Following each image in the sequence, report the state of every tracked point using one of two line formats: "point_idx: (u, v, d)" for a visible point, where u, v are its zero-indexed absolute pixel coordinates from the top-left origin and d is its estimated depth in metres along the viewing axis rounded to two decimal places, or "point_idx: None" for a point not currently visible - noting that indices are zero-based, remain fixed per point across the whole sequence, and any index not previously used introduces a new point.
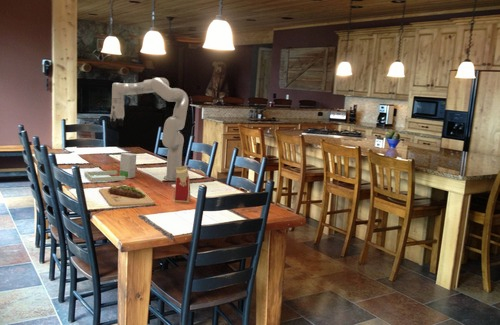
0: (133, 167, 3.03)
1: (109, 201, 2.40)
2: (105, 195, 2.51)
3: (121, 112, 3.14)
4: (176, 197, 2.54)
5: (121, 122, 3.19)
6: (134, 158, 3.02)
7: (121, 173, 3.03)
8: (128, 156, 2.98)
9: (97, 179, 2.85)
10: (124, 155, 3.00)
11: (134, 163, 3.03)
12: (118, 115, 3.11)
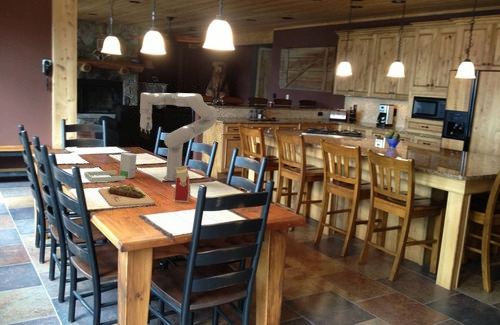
0: (133, 167, 3.03)
1: (109, 201, 2.40)
2: (105, 195, 2.51)
3: None
4: (176, 197, 2.54)
5: (144, 133, 3.09)
6: (134, 158, 3.02)
7: (121, 173, 3.03)
8: (128, 156, 2.98)
9: (97, 179, 2.85)
10: (124, 155, 3.00)
11: (134, 163, 3.03)
12: None
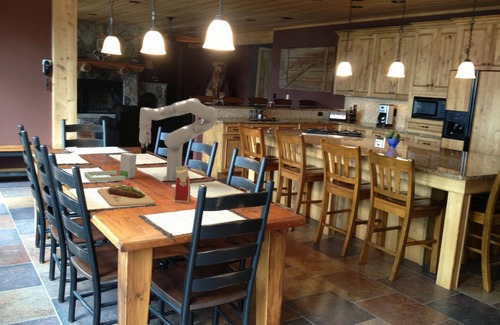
0: (133, 167, 3.03)
1: (109, 201, 2.40)
2: (105, 195, 2.50)
3: None
4: (176, 197, 2.54)
5: None
6: (134, 158, 3.02)
7: (121, 173, 3.03)
8: (128, 156, 2.98)
9: (97, 179, 2.85)
10: (124, 155, 3.00)
11: (134, 163, 3.03)
12: None
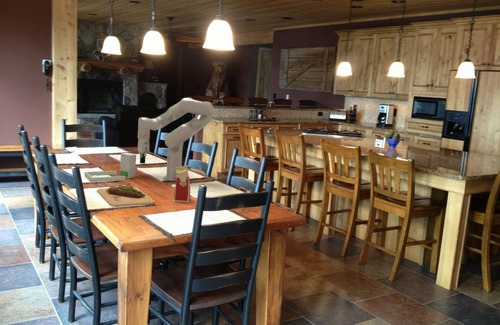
0: (133, 167, 3.03)
1: (110, 201, 2.40)
2: (104, 195, 2.50)
3: None
4: (176, 197, 2.54)
5: None
6: (134, 158, 3.02)
7: (121, 173, 3.03)
8: (128, 156, 2.98)
9: (97, 179, 2.85)
10: (124, 155, 3.00)
11: (134, 163, 3.03)
12: None
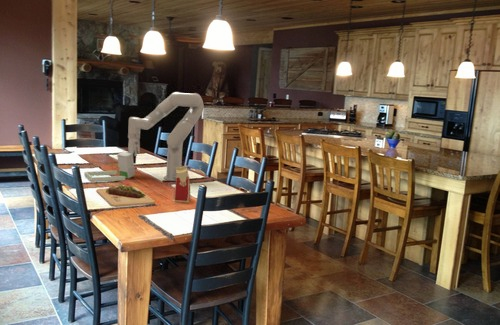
0: (132, 167, 3.02)
1: (110, 201, 2.40)
2: (104, 195, 2.50)
3: None
4: (176, 197, 2.54)
5: None
6: (131, 157, 2.99)
7: (120, 173, 3.02)
8: (125, 157, 2.96)
9: (97, 179, 2.85)
10: (121, 156, 2.97)
11: (132, 163, 3.01)
12: None
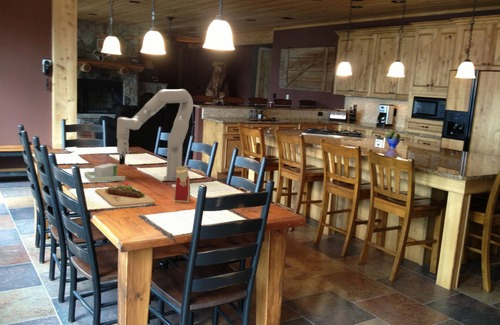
0: (105, 164, 2.97)
1: (110, 201, 2.40)
2: (104, 195, 2.50)
3: None
4: (176, 197, 2.54)
5: None
6: (99, 166, 2.91)
7: (115, 174, 3.01)
8: (103, 169, 2.88)
9: (97, 179, 2.85)
10: (103, 175, 2.89)
11: (102, 165, 2.95)
12: None
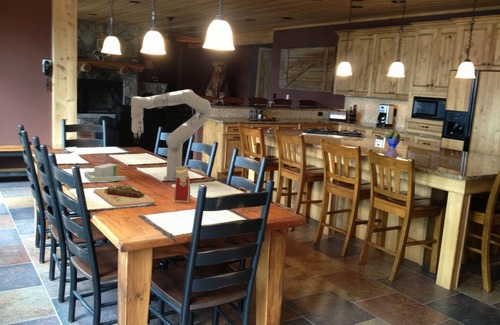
0: (105, 164, 2.97)
1: (111, 201, 2.40)
2: (103, 195, 2.49)
3: None
4: (176, 197, 2.54)
5: None
6: (99, 166, 2.91)
7: (115, 174, 3.01)
8: (103, 169, 2.88)
9: (97, 179, 2.85)
10: (103, 175, 2.89)
11: (102, 165, 2.95)
12: None
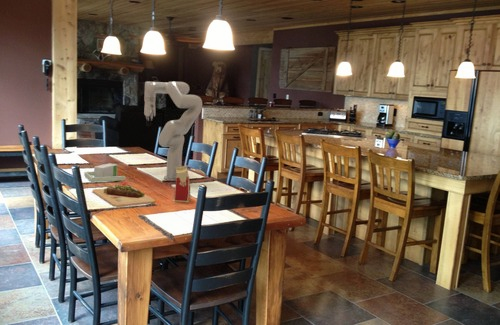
0: (105, 164, 2.97)
1: (111, 201, 2.40)
2: (103, 196, 2.49)
3: None
4: (176, 197, 2.54)
5: None
6: (99, 166, 2.91)
7: (115, 174, 3.01)
8: (103, 169, 2.88)
9: (97, 179, 2.85)
10: (103, 175, 2.89)
11: (102, 165, 2.95)
12: None
